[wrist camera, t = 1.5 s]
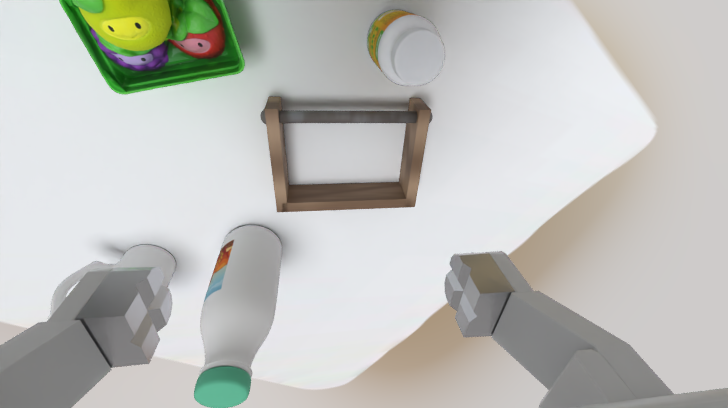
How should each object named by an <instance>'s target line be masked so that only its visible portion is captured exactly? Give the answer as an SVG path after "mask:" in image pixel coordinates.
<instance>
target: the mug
mask: <svg viewBox="0 0 728 408" xmlns="http://www.w3.org/2000/svg"><path fill="white" fill-rule="evenodd" d="M129 267H158V268H161V270H162V272H163V274H164V277H165V278H164V280H163V282H162V285H164V286H165V287H168V285H169V283H170V280H171V278H172V275H173V273H174V271H175V268H176V262H175V259H174V258H173V256H172V255H171V254H170V253H169V252H167V251H166V250H164V249H162V248H160V247H157V246H153V245H138V246H134V247H132V248H130V249H129V250H128V251H127V252H126V253H125V254H124V256H123V257H122V258H121V260H120V261H119V262H118V263H117V264H105V263H102V262H99V261H94V262H92V263H91V264H89V265H87V266H85V267H84V268H82V269H80V270H78V271H77V272H75V273H73V274H72V275H70V276H69V277H67V278H66V279H65V280H64V281H63V282H62V283H61V284H60V285H59V286H58V287H57V288H56V290H55V292H54V294H53V297H52V301H51V311H50V315H49V317H48V319H49V318H50V317H51V316H52V315H53V313H54V312H55V311H56V310H57V308H58V307H59V306H60V305H61V304H62V302H63V301H64V300H65V299H66V294H67V292H68V291H69V289H70V288H71V287H72V286H73V285H75V284H76V283H77V282H79V281H80V280H81V279H82V278H83V277H84V275H85V274H86V273H87V272H88V271H90V270H92V269H102V268H129Z"/></svg>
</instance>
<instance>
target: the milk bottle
mask: <svg viewBox="0 0 728 408" xmlns="http://www.w3.org/2000/svg"><path fill="white" fill-rule="evenodd" d="M281 256H282V245H281V242H280V240H279V238H278V237H277V236H276V235H275V234H274V233H273V232H272V231H271V230H269V229H267V228H264V227H261V226H256V225H247V226H242V227H238V228H237V229H235V230H233V231H232V232H230V233H229V234H228V235H227V236H226V238H225V240H224V242H223V245H222V248H221V251H220V254H219V257H218V260H217V263H216V266H215V269H214V272H213V275H212V278H211V281H210V284H209V287H208V290H207V293H206V297H205V300H204V304H203V308H202V313H201V320H200V328H201V335H202V340H203V344H204V349H205V365H204V366H203V367H202V368H201V370H200V372H199V378H198V380H197V383H196V386H195V391H194V398H195V400H196V401H197V402H199V403H200V404H201V405H204V406H207V407H211V408H228V407H233V406H236V405H239V404H241V403H242V402H243V401H245V400H246V399H247V397H248V395H249V391H250V385H251V376H252V370H251V368H250V367H251V364H252V361H253V359H254V357H255V355H256V353H257V351H258V349H259V348H260V346H261V345H262V343H263V342H264V340H265V339H266V337H267V335H268V333H269V331H270V329H271V326H272V323H273V319H274V315H275V308H276V302H277V293H278V284H279V275H280V266H281Z"/></svg>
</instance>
